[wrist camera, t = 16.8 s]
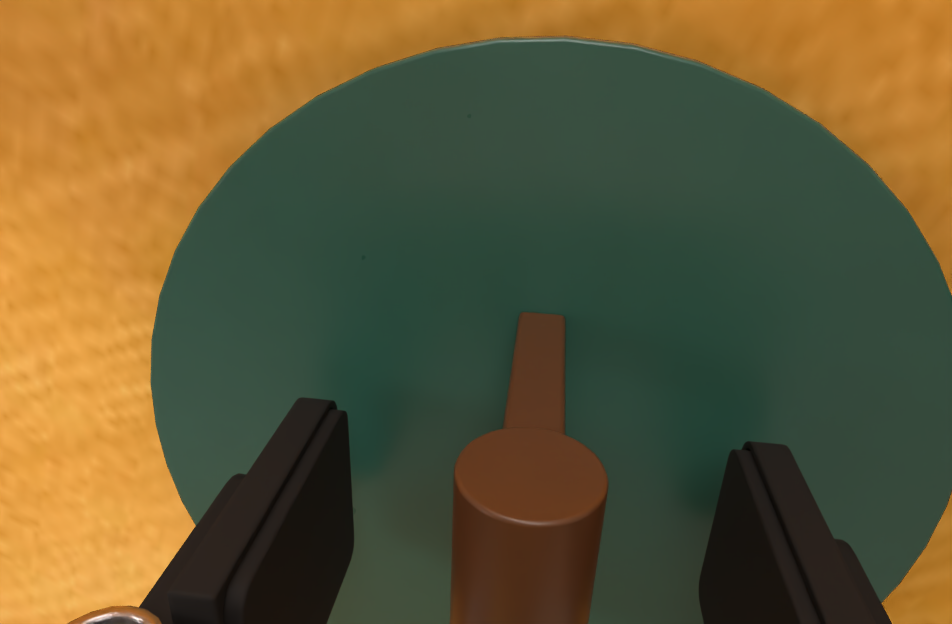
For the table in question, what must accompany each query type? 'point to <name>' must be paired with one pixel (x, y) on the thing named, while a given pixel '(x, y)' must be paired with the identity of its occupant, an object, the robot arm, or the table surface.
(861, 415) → the lid
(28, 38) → the table surface
